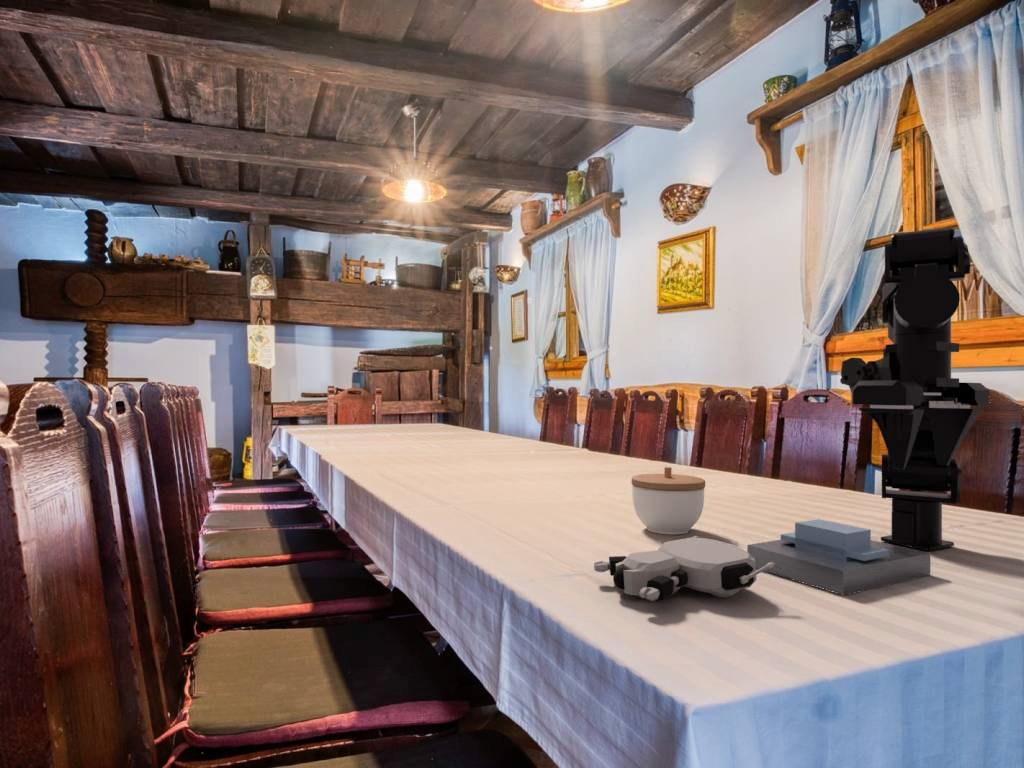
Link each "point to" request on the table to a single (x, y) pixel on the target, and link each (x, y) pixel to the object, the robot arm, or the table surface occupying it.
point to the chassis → (841, 566)
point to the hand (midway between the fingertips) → (921, 466)
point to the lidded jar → (668, 501)
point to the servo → (834, 540)
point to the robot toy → (683, 569)
